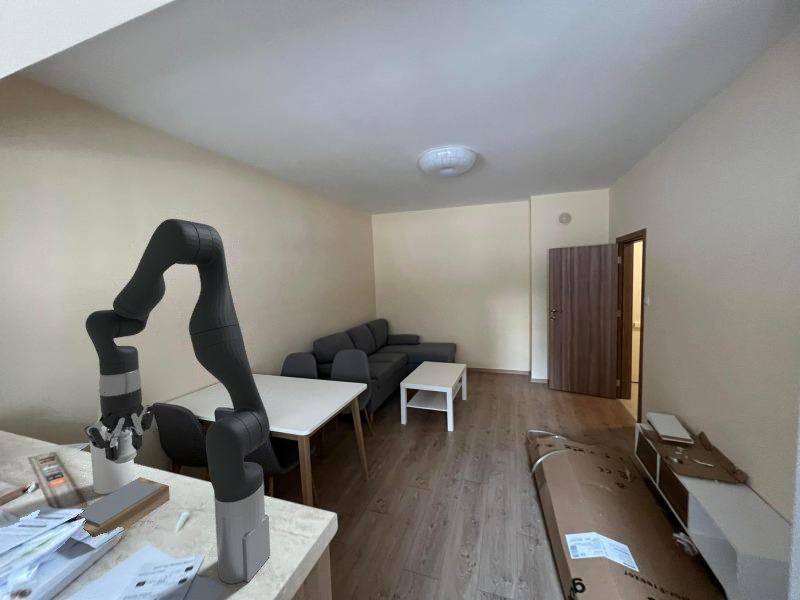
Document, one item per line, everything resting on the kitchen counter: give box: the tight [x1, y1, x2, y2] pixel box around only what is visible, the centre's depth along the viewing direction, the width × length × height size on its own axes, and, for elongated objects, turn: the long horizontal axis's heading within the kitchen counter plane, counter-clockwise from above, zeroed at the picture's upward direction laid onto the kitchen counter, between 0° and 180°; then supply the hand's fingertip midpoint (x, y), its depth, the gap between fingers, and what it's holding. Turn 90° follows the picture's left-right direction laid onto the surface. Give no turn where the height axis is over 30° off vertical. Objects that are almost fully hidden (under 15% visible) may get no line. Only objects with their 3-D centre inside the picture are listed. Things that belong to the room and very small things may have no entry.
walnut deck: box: [76, 477, 171, 537], centre depth 76 cm, size 12×16×4 cm
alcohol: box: [89, 389, 136, 495], centre depth 87 cm, size 9×9×30 cm
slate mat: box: [77, 478, 161, 526], centre depth 76 cm, size 10×13×1 cm
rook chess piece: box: [113, 427, 138, 464], centre depth 74 cm, size 4×4×8 cm
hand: (125, 454), depth 74 cm, fingers closed on rook chess piece, 4 cm apart
